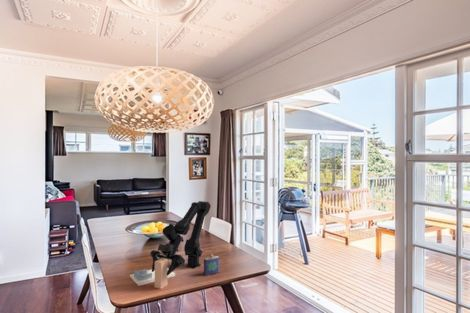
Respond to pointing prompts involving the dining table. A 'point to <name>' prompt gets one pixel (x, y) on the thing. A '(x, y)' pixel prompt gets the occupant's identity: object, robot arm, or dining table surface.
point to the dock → (145, 276)
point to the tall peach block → (161, 273)
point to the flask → (211, 265)
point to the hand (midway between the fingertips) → (159, 273)
